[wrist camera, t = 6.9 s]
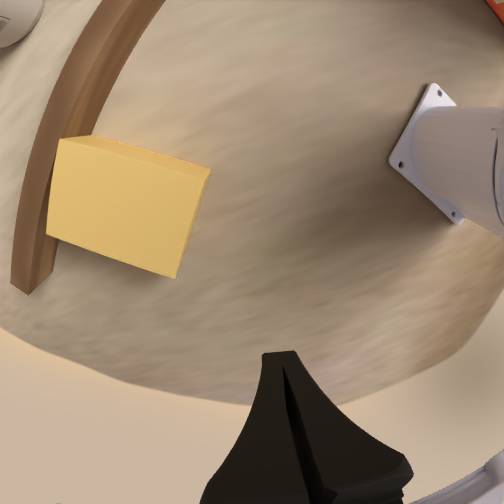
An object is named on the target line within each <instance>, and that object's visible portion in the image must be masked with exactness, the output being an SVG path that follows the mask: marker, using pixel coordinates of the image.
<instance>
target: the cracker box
mask: <svg viewBox="0 0 504 504" xmlns="http://www.w3.org/2000/svg"><path fill="white" fill-rule="evenodd" d="M486 1H487V3H488V4H489V5H490V6H491V8H492V9H493V10H494V11H495V13H496V14H497V15H498V17H499V18H500V19H501V21H502V22H503V23H504V0H486Z"/></svg>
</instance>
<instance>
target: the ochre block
mask: <svg viewBox="0 0 504 504" xmlns="http://www.w3.org/2000/svg"><path fill="white" fill-rule="evenodd" d="M211 170H212V169H209V168H206V167H203V166H200V165H196V164H193V163H190V162H187V161H184V160H180V159H177V158H174V157H170V156H167V155H164V154H160V153H157V152H153V151H150V150H146V149H143V148H139V147H136V146H132V145H128V144H125V143H121V142H117V141H113V140H109V139H105V138H101V137H97V136H93V135H88V136H79V137H70V138H62V139H59V143H58V148H57V153H56V158H55V164H54V169H53V176H52V182H51V189H50V197H49V205H48V215H47V228H46V234H48V235H50V236H53V237H55V238H58V239H61V240H63V241H66V242H69V243H71V244H74V245H77V246H79V247H82V248H85V249H88V250H90V251H93V252H96V253H99V254H102V255H104V256H107V257H110V258H113V259H116V260H119V261H122V262H125V263H127V264H130V265H133V266H136V267H139V268H142V269H145V270H148V271H151V272H154V273H157V274H161V275H164V276H167V277H170V278H173V279H175V277H176V274H177V272H178V269H179V266H180V264H181V261H182V258H183V256H184V253H185V250H186V247H187V244H188V240H189V237H190V234H191V231H192V227H193V224H194V221H195V218H196V215H197V212H198V209H199V205H200V202H201V199H202V196H203V193H204V190H205V187H206V184H207V181H208V178H209V176H210V173H211Z"/></svg>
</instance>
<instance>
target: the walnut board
mask: <svg viewBox="0 0 504 504" xmlns="http://www.w3.org/2000/svg"><path fill="white" fill-rule="evenodd" d="M164 2H165V0H102V1H101V3H100V4H99V6H98V7H97V9H96V10H95V12H94V13H93V15H92V17H91V18H90V20H89V21H88V23H87V25H86V26H85V28H84V30H83V31H82V33H81V35H80V37H79V38H78V40H77V42H76V44H75V46H74V47H73V49H72V51H71V53H70V55H69V57H68V59H67V61H66V63H65V65H64V67H63V69H62V71H61V73H60V76H59V78H58V80H57V82H56V85H55V87H54V89H53V91H52V94H51V96H50V99H49V101H48V104H47V106H46V109H45V112H44V114H43V117H42V120H41V123H40V126H39V129H38V132H37V135H36V138H35V141H34V144H33V148H32V151H31V155H30V158H29V162H28V166H27V170H26V174H25V178H24V182H23V187H22V192H21V197H20V202H19V207H18V213H17V219H16V226H15V233H14V242H13V251H12V263H11V281H10V283H11V284H12V285H14V286H15V287H17V288H18V289H20V290H21V291H23V292H24V293H26V294H27V295H29V294H30V293H31V292H32V291H33V290H34V289H35V288H36V287H37V286H38V285H39V284H40V283H41V282H42V281H43V280H44V279H45V278H46V277H47V276H48V275H49V274H50V273H51V272H52V271H53V265H54V260H55V254H56V249H57V245H58V240H59V239H58V238H55V237H53V236H50V235H48V234H46V228H47V215H48V205H49V197H50V189H51V182H52V176H53V169H54V164H55V158H56V153H57V148H58V143H59V139H62V138H70V137H79V136H88V135H91V133H92V131H93V128H94V126H95V123H96V121H97V119H98V116H99V114H100V112H101V110H102V107H103V105H104V103H105V101H106V99H107V97H108V95H109V93H110V91H111V89H112V87H113V85H114V83H115V81H116V79H117V77H118V75H119V73H120V71H121V69H122V68H123V66H124V64H125V62H126V60H127V59H128V57H129V55H130V53H131V52H132V50H133V48H134V47H135V45H136V43H137V42H138V40H139V38H140V37H141V35H142V34H143V32H144V31H145V29H146V28H147V26H148V25H149V23H150V22H151V20H152V19H153V17H154V16H155V14H156V13H157V11H158V10H159V9H160V7H161V6H162V4H163V3H164Z"/></svg>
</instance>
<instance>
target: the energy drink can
mask: <svg viewBox="0 0 504 504" xmlns="http://www.w3.org/2000/svg"><path fill="white" fill-rule="evenodd" d="M43 7H44V0H0V47H1V48H4V47H7V46H10V45H12V44H13V43H15V42H17V41H19V40H21V39H22V38H23V37H25V36H26V35H27V34H28V33H29V32H30V31H31V30H32V28H33V27H34V26H35V24H36V23H37V21H38V20H39V18H40V16H41V13H42V11H43Z"/></svg>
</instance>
